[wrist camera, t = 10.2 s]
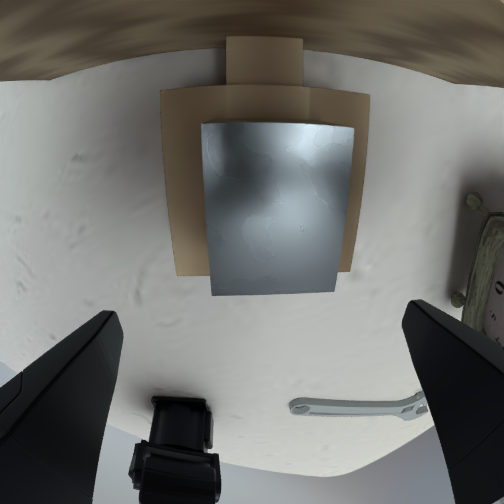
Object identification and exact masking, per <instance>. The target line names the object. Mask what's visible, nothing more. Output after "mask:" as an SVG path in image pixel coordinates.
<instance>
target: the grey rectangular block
mask: <svg viewBox="0 0 504 504" xmlns="http://www.w3.org/2000/svg"><path fill="white" fill-rule="evenodd" d="M201 131H202V158H203V180H204V198H205V214H206V229H207V243H208V256H209V268H210V280H211V291H212V296H229V295H269V294H296V293H318V292H334V290H335V284H336V279H337V273H338V267H339V261H340V255H341V248H342V242H343V235H344V228H345V220H346V212H347V204H348V195H349V186H350V176H351V165H352V153H353V139H354V128H352V127H348V126H344V125H339V124H335V123H330V122H326V121H316V120H299V119H271V118H235V119H211V120H209V121H207V122H205V123H202V124H201Z"/></svg>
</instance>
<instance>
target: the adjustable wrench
mask: <svg viewBox="0 0 504 504" xmlns="http://www.w3.org/2000/svg"><path fill="white" fill-rule="evenodd" d="M421 404H423V407H420V408H419V406H420V405H421ZM427 404H428V403H427V400H426V398H425V395H424V392H423V391H421V392H419V393H417V394H416V395H414V396H412V397H409V398H407V399H404V400H400V401H346V400H328V399H314V398H297V399H294V400H293V401H291V402H290V404H289V407H290V413H291V414H293V415H303V416H330V417H357V416H384V415H394V416H397V417H400V418H402V419H403V420H413V419H416V418H418V417H420V416H422V415H424V414H425V413H427V412H428V409H427V406H424V405H427ZM301 405H305V406H302V407H297V406H301Z"/></svg>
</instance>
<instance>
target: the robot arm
mask: <svg viewBox="0 0 504 504" xmlns="http://www.w3.org/2000/svg"><path fill="white" fill-rule="evenodd" d="M402 329H403V332H404V335H405V338H406V342H407V345H408V348H409V352H410V355H411V359H412V362H413V365H414V368H415V371H416V373H417V376H418V379H419V381H420V384H421V387H422V389H423V392H424V395H425V398H426V400H427V403H428V406H429V409H430V412H431V415H432V418H433V421H434V424H435V427H436V430H437V433H438V437H439V440H440V443H441V447H442V450H443V454H444V457H445V461H446V465H447V468H448V473H449V477H450V481H451V486H452V490H453V494H454V499H455V504H492V503H494V502H496V501H498V500H500V503H501V504H504V346H501V345H500V344H499V343H497V342H495V341H493V340H492V339H490V338H488V337H487V336H485V335H483V334H482V333H480V332H478V331H476V330H475V329H473V328H471V327H470V326H468V325H466V324H464V323H463V322H461V321H459V320H457V319H456V318H454V317H452V316H450V315H448V314H447V313H445V312H443V311H441V310H440V309H438V308H436V307H434V306H432V305H431V304H429V303H427V302H425V301H423V300H421V299H418V300H411V301H410V302H409V303H408V305H407V308H406V311H405V314H404V316H403V319H402ZM122 344H123V330H122V327H121V324H120V321H119V318H118V315H117V313H116V312H115V311H108V310H103V311H101V312H100V313H98V314H97V315H96V316H94V317H93V318H92V319H90V320H89V321H87V322H86V323H85V324H83V325H82V326H81V327H79V328H78V329H76V330H75V331H74V332H72V333H71V334H70V335H68V336H67V337H66V338H64V339H63V340H62V341H60V342H59V343H58V344H56V345H55V346H54V347H52V348H51V349H50V350H48V351H47V352H46V353H44V354H43V355H42V356H41V357H39V358H38V359H37V360H35V361H34V362H33V363H31V364H30V365H29V366H28V367H26V368H25V369H24V370H23V372H22V371H21V372H20V373H19V374H17V375H16V376H15V377H14V378H12V379H11V380H10V381H8V382H7V383H6V384H5V385H3V386H2V387H0V504H92V501H93V499H92V497H93V492H94V485H95V478H96V473H97V467H98V461H99V455H100V450H101V445H102V440H103V436H104V431H105V426H106V422H107V417H108V413H109V409H110V405H111V401H112V397H113V393H114V389H115V385H116V380H117V374H118V368H119V361H120V355H121V349H122ZM151 402H152V404H153V406H154V408H155V409H154V415H153V420H152V426H151V431H150V437H149V442H147V441H146V440H141V443H137V444H135V449H134V453H133V458H132V461H131V465H130V469H129V473H128V475H129V476H130V478H131V479H132V483H134V487H133V488H134V489H136V490H140V492H139V504H215V503H217V502H218V501H219V498H220V494H221V475H220V465H219V454H217V453H213V454H211V453H207V451H208V449H211V448H212V447H213V417H212V413H211V412H210V411H208V407H207V403H206V401H205V400H203V399H183V398H166V397H152V399H151Z"/></svg>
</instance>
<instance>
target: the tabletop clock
mask: <svg viewBox="0 0 504 504" xmlns="http://www.w3.org/2000/svg"><path fill="white" fill-rule="evenodd" d="M466 204H467V206H468V207H469V208H470V209H471V210H472V211H478V210H480V211H481V212H482V213H483V214H484V215H485V217H486V218H485V220H484V222H483V224H482V227H481V230H480V233H479V237H478V242H477V246H476V250H475V255H474V259H473V263H472V267H471V270H470V274H469V280H468V286H467V291H466V296H464V295H463V294H462V293H459V292H457V293H455V294H454V295H453V296H452V298H451V303H452V305H453V306H454V307H456V308H460V307H462V306H463V305H464V306H463V311H462V319H461V322H463V323H464V324H466V325H468V326H470V327H471V328H473V329H475V330H476V331H478V332H480V333H482V334H483V335H485V336H487V337H488V338H490V339H492V340H493V341H495V342H497V343H499V344H500V345H501V346H504V209H499V210H495V211H490V210H488V209H487V208H486V207H484V206H483V205H482V204H483V200H482V197H481V196H480V195H479V193H477V192H471V193H470V194H468V196H467V198H466Z"/></svg>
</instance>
